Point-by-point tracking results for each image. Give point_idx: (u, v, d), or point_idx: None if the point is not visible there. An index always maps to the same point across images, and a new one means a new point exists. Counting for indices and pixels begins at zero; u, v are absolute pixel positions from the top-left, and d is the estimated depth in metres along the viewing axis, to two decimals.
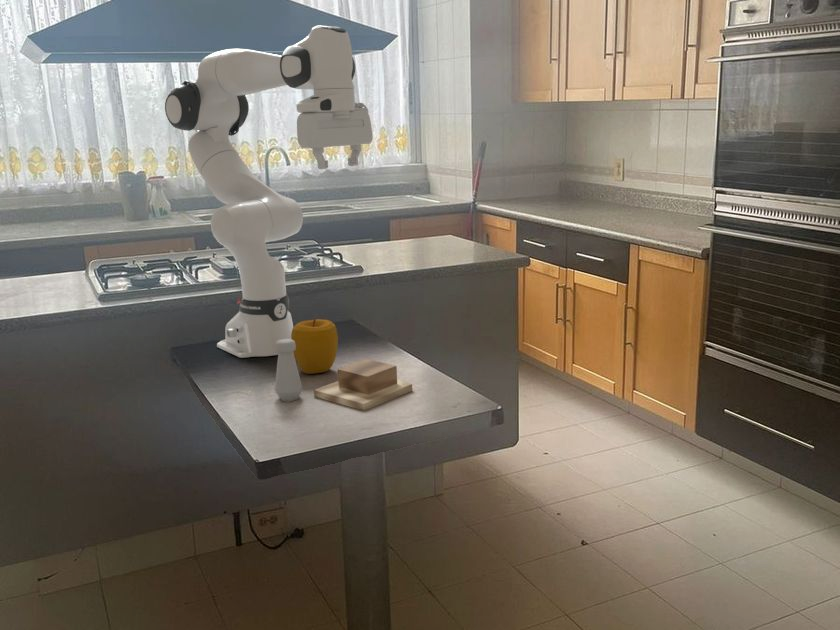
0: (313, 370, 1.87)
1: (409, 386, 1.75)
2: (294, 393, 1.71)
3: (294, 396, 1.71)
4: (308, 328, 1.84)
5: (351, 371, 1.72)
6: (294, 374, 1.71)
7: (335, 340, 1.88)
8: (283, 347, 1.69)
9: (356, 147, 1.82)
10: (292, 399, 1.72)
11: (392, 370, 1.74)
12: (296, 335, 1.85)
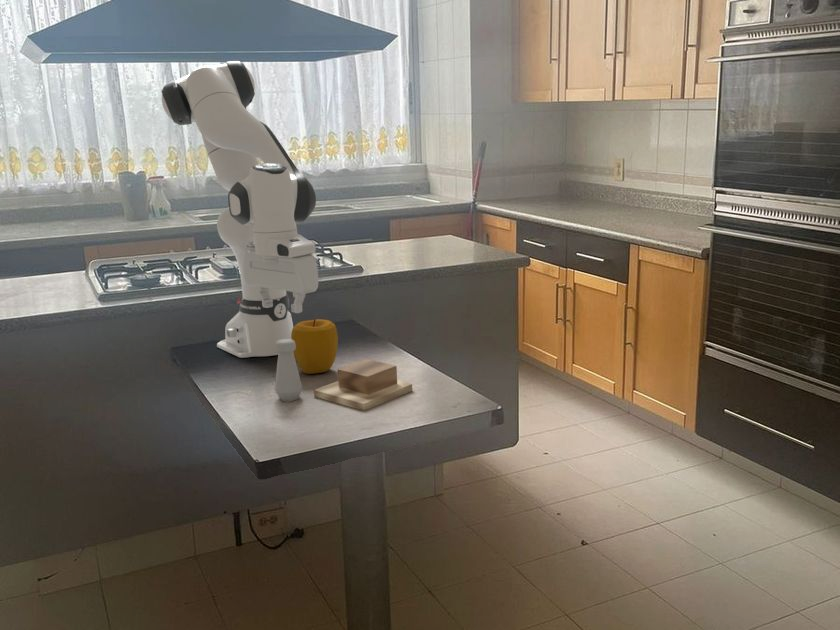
0: (313, 370, 1.87)
1: (409, 386, 1.75)
2: (294, 393, 1.71)
3: (294, 396, 1.71)
4: (308, 328, 1.85)
5: (351, 371, 1.72)
6: (294, 374, 1.71)
7: (335, 340, 1.88)
8: (283, 347, 1.69)
9: (267, 287, 1.72)
10: (292, 399, 1.72)
11: (392, 370, 1.74)
12: (296, 335, 1.85)
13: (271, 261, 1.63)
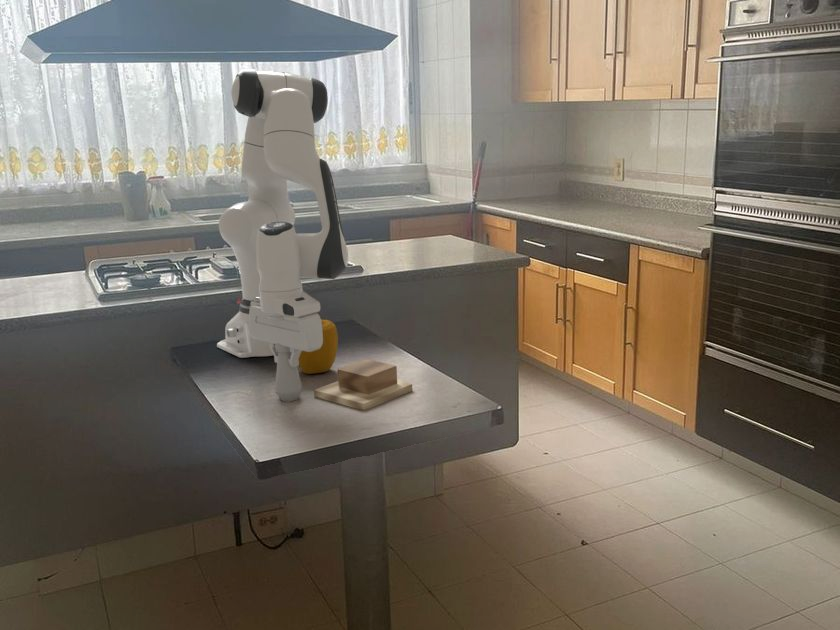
0: (313, 370, 1.87)
1: (409, 386, 1.75)
2: (294, 393, 1.71)
3: (294, 396, 1.71)
4: None
5: (351, 371, 1.72)
6: (294, 374, 1.71)
7: (335, 340, 1.88)
8: (283, 347, 1.69)
9: None
10: (292, 399, 1.72)
11: (392, 370, 1.74)
12: None
13: (276, 319, 1.66)
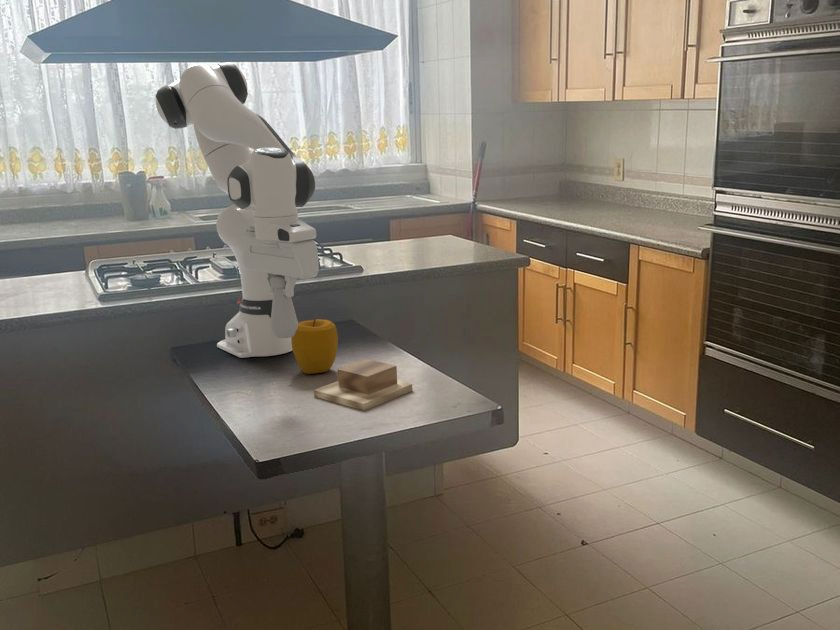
0: (313, 370, 1.87)
1: (409, 386, 1.75)
2: (291, 329, 1.68)
3: (291, 332, 1.68)
4: (308, 328, 1.84)
5: (351, 371, 1.72)
6: (291, 310, 1.68)
7: (335, 340, 1.88)
8: (279, 282, 1.65)
9: (275, 273, 1.70)
10: (289, 335, 1.69)
11: (392, 370, 1.74)
12: (296, 335, 1.85)
13: (271, 246, 1.63)
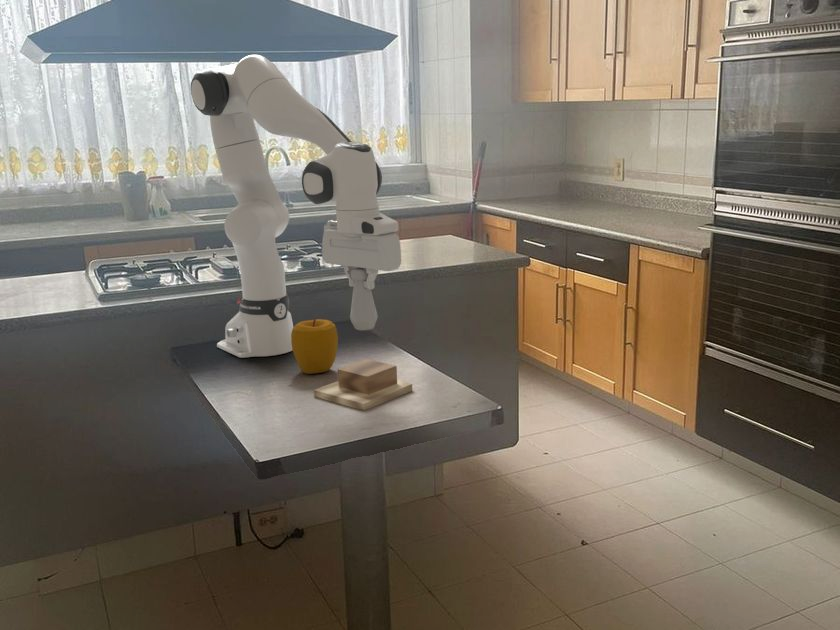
0: (313, 370, 1.87)
1: (409, 386, 1.75)
2: (371, 321, 1.70)
3: (371, 324, 1.71)
4: (308, 328, 1.85)
5: (351, 371, 1.72)
6: (371, 302, 1.70)
7: (335, 340, 1.88)
8: (361, 275, 1.68)
9: (354, 267, 1.72)
10: (369, 328, 1.71)
11: (392, 370, 1.74)
12: (296, 335, 1.85)
13: (354, 239, 1.65)
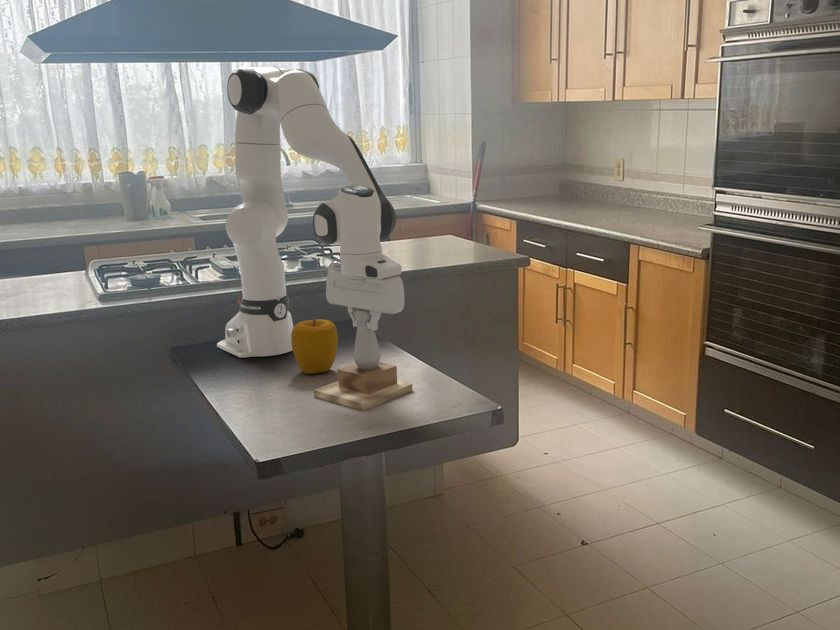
0: (313, 370, 1.87)
1: (409, 386, 1.75)
2: (374, 361, 1.72)
3: (374, 364, 1.73)
4: (308, 328, 1.84)
5: (351, 371, 1.72)
6: (374, 343, 1.72)
7: (335, 340, 1.88)
8: (364, 316, 1.70)
9: (358, 307, 1.74)
10: (372, 367, 1.73)
11: (392, 370, 1.74)
12: (296, 335, 1.85)
13: (358, 281, 1.67)
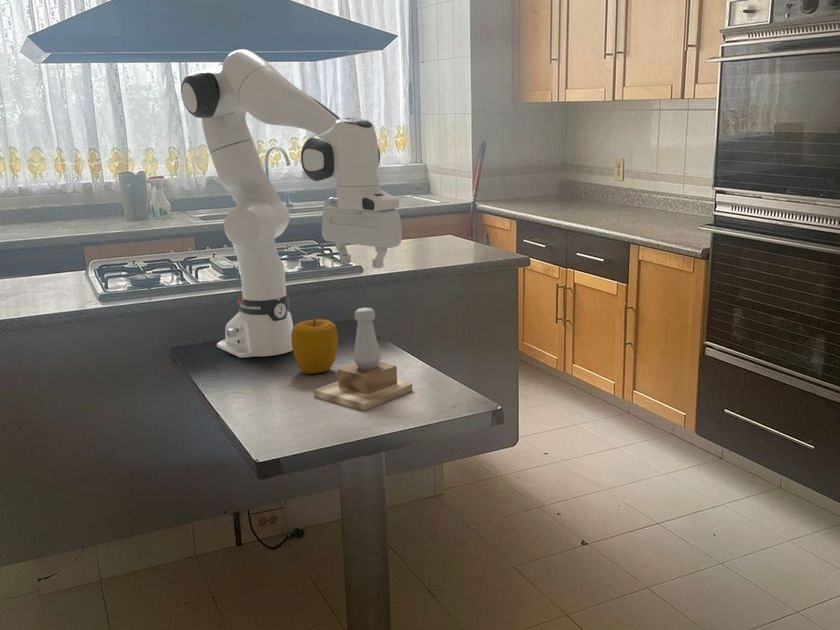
0: (313, 370, 1.87)
1: (409, 386, 1.75)
2: (374, 361, 1.72)
3: (374, 364, 1.73)
4: (308, 328, 1.84)
5: (351, 371, 1.72)
6: (374, 343, 1.72)
7: (335, 340, 1.88)
8: (365, 316, 1.70)
9: (346, 243, 1.72)
10: (372, 367, 1.73)
11: (392, 370, 1.74)
12: (296, 335, 1.85)
13: (354, 215, 1.64)
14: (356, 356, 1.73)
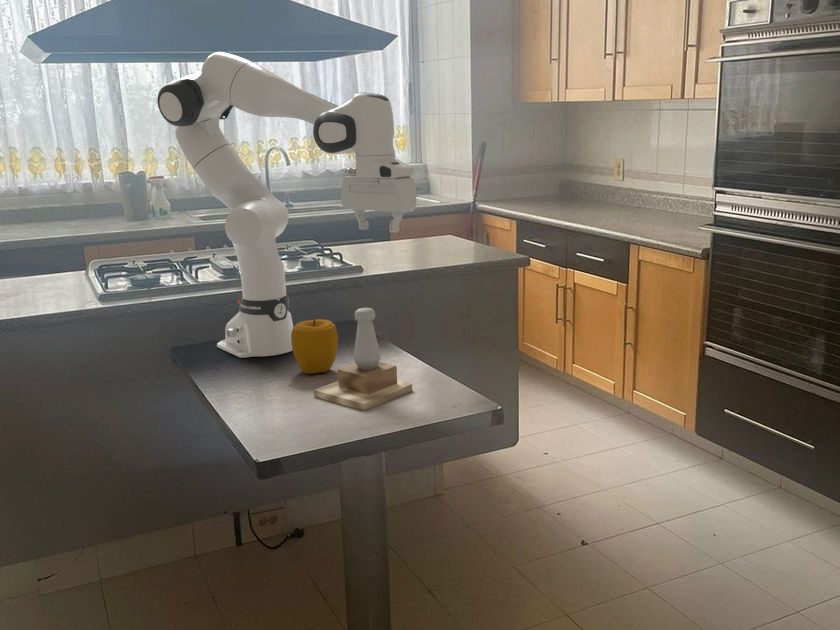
0: (313, 370, 1.87)
1: (409, 386, 1.75)
2: (374, 361, 1.72)
3: (374, 364, 1.73)
4: (308, 328, 1.85)
5: (351, 371, 1.72)
6: (374, 343, 1.72)
7: (335, 340, 1.88)
8: (365, 316, 1.70)
9: (364, 211, 1.85)
10: (372, 367, 1.73)
11: (392, 370, 1.74)
12: (296, 335, 1.85)
13: (372, 183, 1.77)
14: (356, 356, 1.73)
